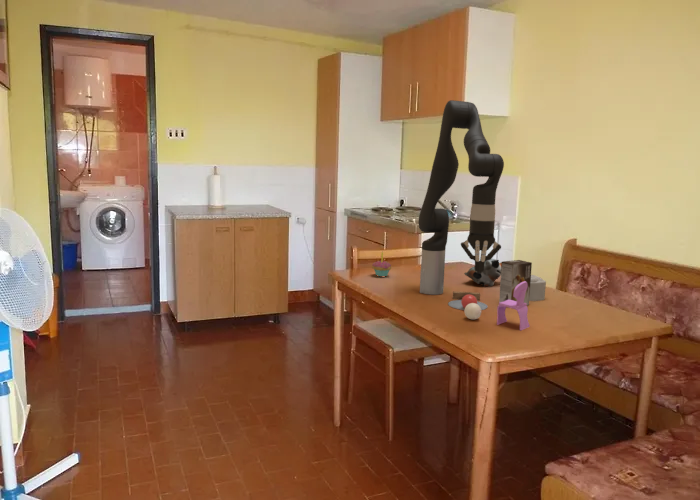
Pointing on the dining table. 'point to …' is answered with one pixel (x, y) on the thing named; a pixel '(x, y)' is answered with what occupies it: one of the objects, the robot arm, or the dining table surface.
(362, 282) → the dining table surface
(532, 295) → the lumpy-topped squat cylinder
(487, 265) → the lucky cat figurine
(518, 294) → the toy chair
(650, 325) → the dining table surface
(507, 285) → the coffee box
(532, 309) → the dining table surface
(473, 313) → the cream ball
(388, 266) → the cupcake
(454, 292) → the strip
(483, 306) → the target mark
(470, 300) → the red ball
